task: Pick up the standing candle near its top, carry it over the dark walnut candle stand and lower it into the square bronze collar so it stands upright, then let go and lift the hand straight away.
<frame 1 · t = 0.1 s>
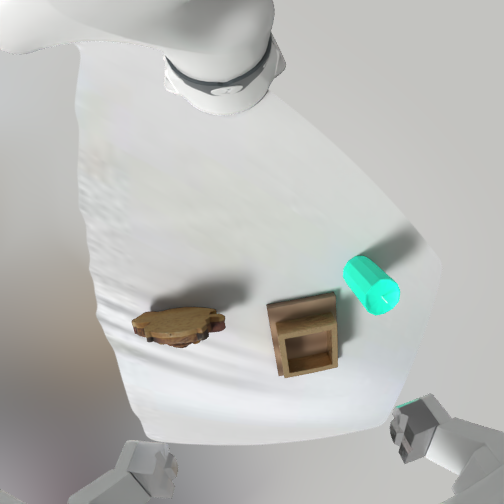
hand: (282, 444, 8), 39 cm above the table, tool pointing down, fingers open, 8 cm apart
wooden carving: (182, 311, 50), on the table
candle: (358, 271, 49), on the table
candle stand: (304, 335, 52), on the table
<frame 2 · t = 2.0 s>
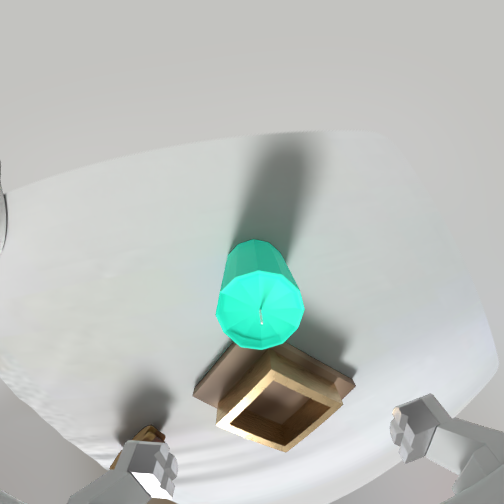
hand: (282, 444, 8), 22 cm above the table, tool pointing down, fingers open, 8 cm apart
wooden carving: (143, 436, 35), on the table
candle: (254, 267, 29), on the table
candle stand: (275, 387, 33), on the table
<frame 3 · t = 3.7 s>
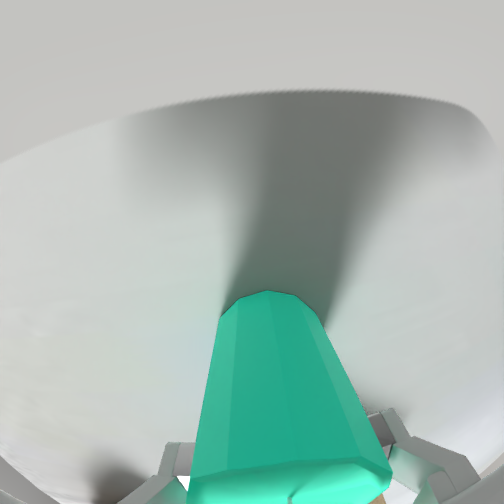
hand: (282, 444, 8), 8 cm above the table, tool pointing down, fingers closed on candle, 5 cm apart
candle: (268, 338, 16), on the table, touching gripper
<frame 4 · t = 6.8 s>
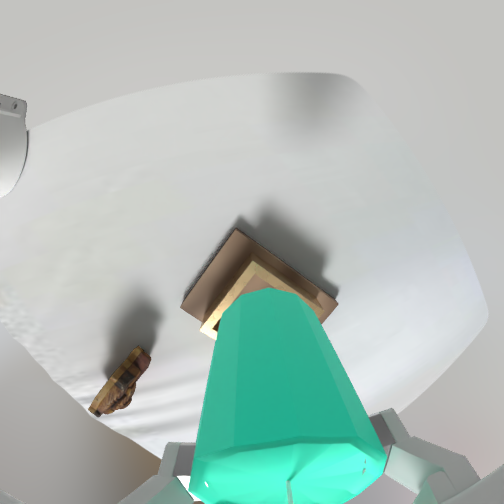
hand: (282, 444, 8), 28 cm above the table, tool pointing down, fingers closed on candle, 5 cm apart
wooden carving: (130, 367, 39), on the table
candle: (268, 334, 17), point 19 cm above the table, touching gripper
candle stand: (259, 302, 37), on the table
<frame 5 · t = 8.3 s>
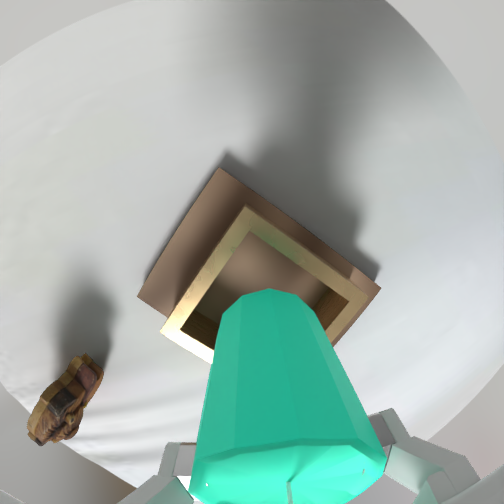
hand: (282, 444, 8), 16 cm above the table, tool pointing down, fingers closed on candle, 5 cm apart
wooden carving: (85, 381, 26), on the table
candle: (268, 335, 17), point 7 cm above the table, touching gripper
candle stand: (260, 288, 24), on the table
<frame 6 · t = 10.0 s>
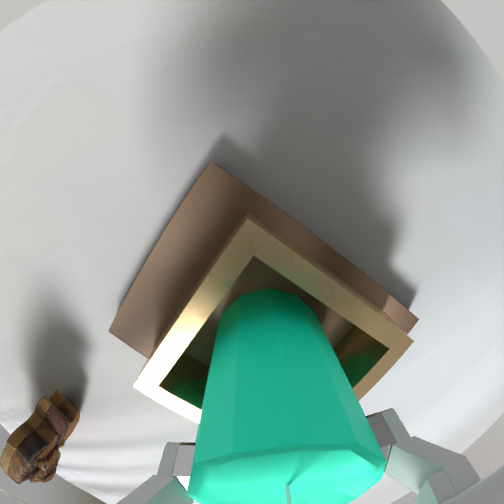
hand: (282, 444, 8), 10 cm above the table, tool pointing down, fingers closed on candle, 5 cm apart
wooden carving: (63, 414, 20), on the table
candle: (267, 335, 16), point 1 cm above the table, touching candle stand, gripper
candle stand: (267, 322, 18), on the table
when the fingers open (10 cm above the table, at t = 10.0 s): candle stays where it is, resting on candle stand.
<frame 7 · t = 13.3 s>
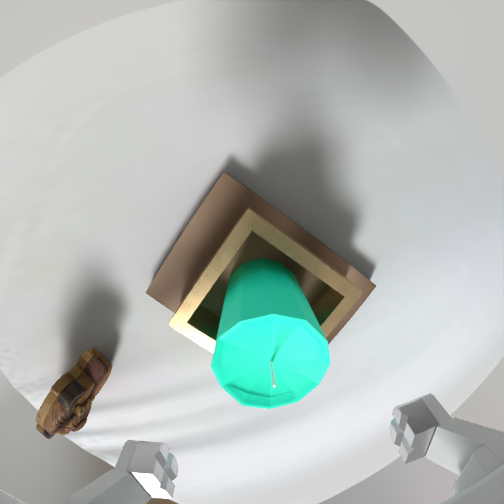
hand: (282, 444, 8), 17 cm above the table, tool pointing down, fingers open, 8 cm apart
wooden carving: (92, 375, 28), on the table
candle: (262, 292, 24), point 1 cm above the table, touching candle stand
candle stand: (262, 285, 25), on the table
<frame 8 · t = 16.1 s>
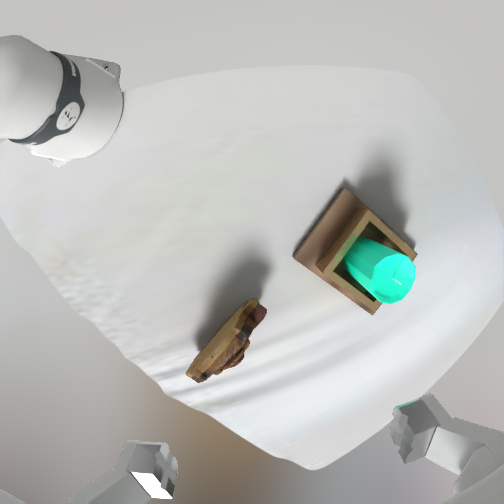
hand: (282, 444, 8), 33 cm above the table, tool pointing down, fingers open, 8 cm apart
wooden carving: (227, 329, 44), on the table
candle: (360, 257, 40), point 1 cm above the table, touching candle stand
candle stand: (358, 253, 41), on the table
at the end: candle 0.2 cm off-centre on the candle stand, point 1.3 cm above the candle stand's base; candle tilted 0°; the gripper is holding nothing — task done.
